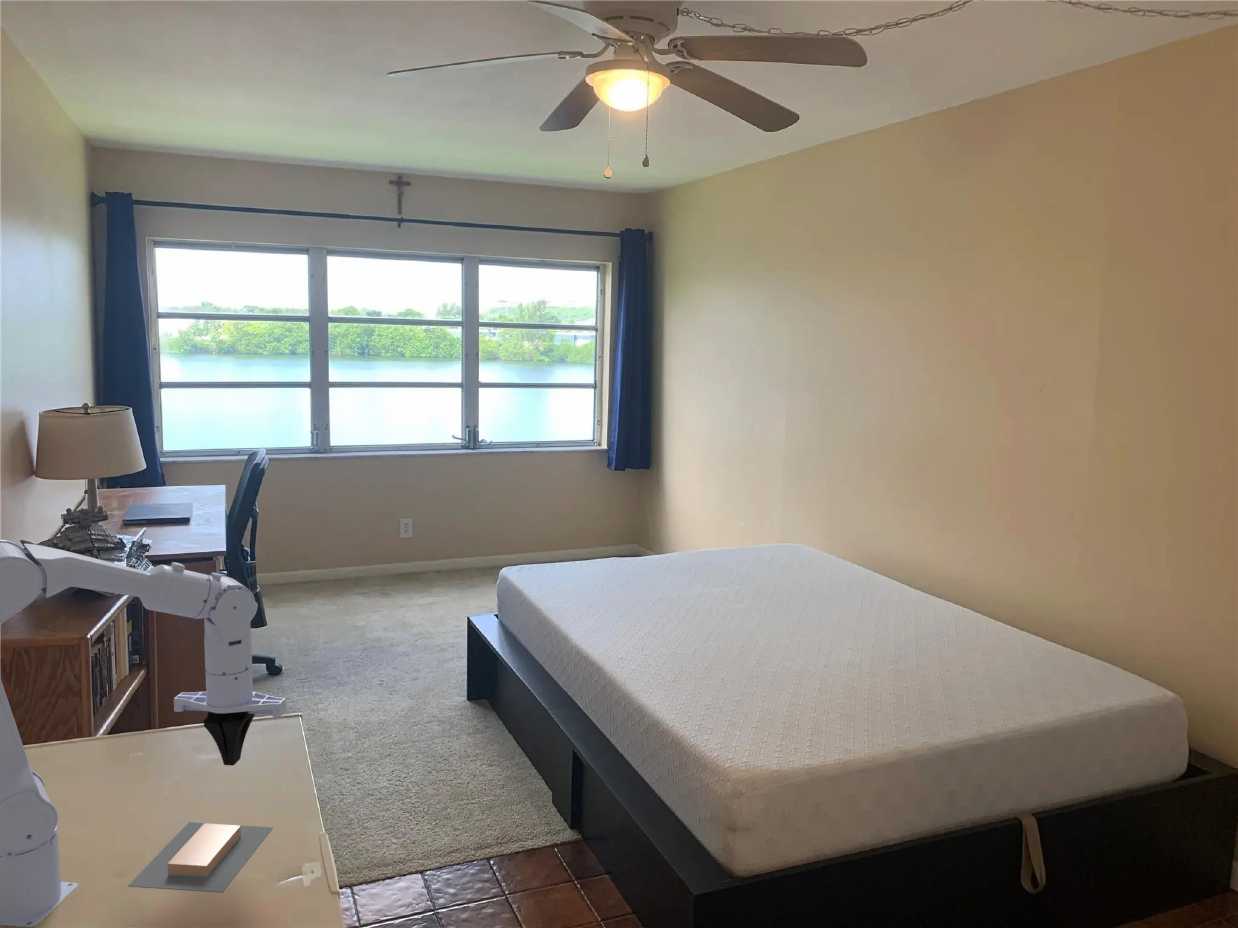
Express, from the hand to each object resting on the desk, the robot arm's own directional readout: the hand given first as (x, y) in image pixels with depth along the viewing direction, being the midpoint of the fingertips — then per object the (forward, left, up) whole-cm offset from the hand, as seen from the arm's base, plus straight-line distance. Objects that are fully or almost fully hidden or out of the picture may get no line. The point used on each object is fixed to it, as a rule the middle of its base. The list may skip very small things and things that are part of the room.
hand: (232, 761), depth 118 cm
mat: (-1, -6, -10) cm, 12 cm away
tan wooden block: (+2, -6, -9) cm, 11 cm away
